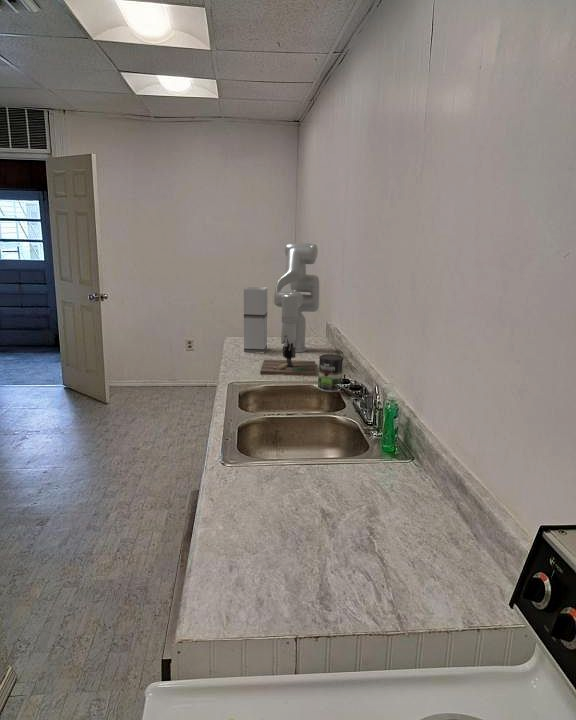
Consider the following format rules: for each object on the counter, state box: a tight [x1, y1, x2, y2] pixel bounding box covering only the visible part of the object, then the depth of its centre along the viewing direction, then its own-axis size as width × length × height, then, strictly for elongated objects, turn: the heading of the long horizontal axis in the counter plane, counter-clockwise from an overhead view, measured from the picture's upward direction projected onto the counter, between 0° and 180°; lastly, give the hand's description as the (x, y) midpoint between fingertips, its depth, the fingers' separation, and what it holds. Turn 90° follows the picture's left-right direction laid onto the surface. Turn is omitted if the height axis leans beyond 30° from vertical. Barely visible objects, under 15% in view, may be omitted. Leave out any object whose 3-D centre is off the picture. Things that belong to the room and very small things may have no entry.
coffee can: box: [317, 353, 345, 393], centre depth 219 cm, size 10×10×14 cm
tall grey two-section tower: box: [243, 286, 268, 353], centre depth 285 cm, size 11×11×35 cm
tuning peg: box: [279, 345, 296, 369], centre depth 247 cm, size 11×6×9 cm, turn 150°
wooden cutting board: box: [260, 359, 317, 377], centre depth 251 cm, size 22×26×3 cm
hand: (288, 356), depth 250 cm, fingers closed on tuning peg, 2 cm apart
